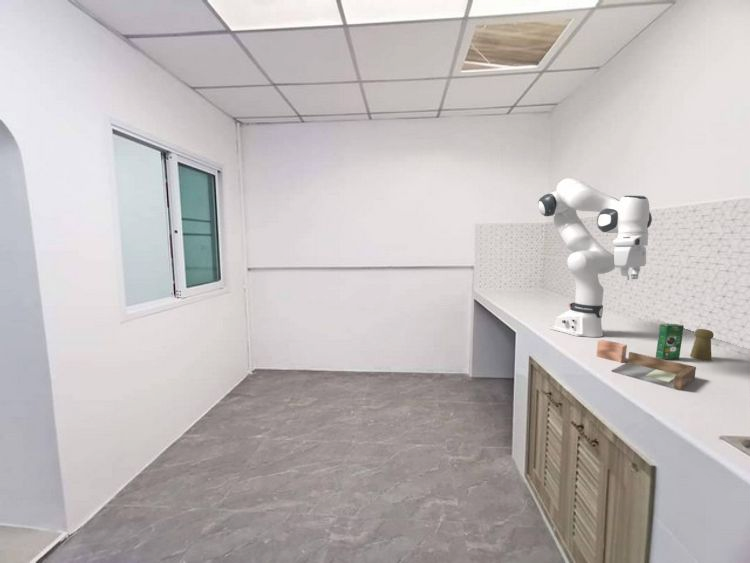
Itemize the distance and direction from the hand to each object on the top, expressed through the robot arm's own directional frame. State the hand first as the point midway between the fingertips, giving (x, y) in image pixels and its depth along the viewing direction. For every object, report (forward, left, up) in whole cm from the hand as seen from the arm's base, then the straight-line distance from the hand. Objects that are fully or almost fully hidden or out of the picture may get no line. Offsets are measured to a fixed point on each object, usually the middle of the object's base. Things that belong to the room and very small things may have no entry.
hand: (629, 279), depth 127 cm
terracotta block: (-2, -3, -30) cm, 30 cm away
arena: (+12, -11, -29) cm, 34 cm away
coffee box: (+10, +16, -30) cm, 35 cm away
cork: (+17, +28, -30) cm, 44 cm away
